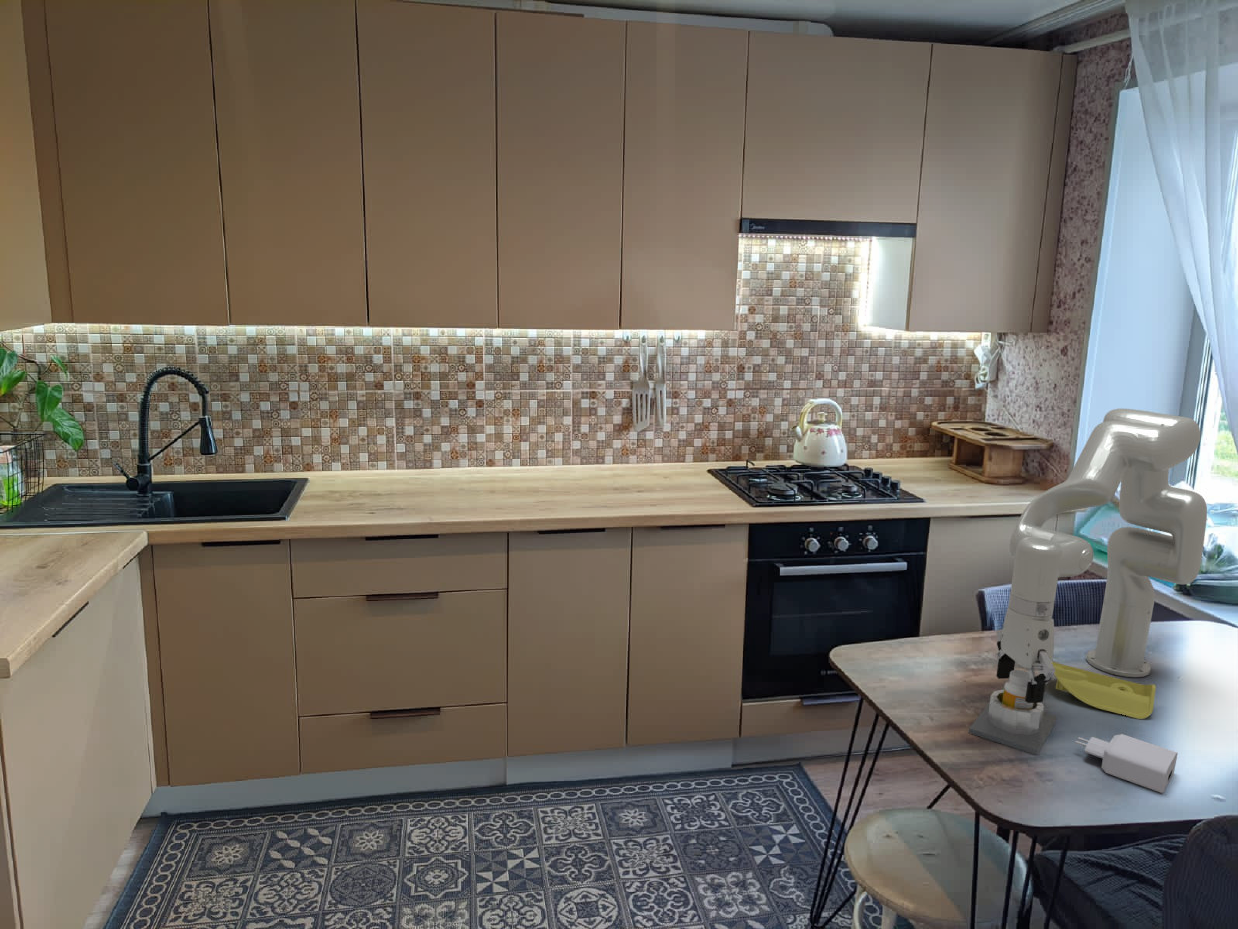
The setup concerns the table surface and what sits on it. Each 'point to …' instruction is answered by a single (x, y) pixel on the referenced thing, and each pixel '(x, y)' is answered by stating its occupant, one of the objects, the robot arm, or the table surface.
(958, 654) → the table surface
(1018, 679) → the supplement bottle
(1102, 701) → the plastic component
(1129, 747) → the charger
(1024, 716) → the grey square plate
